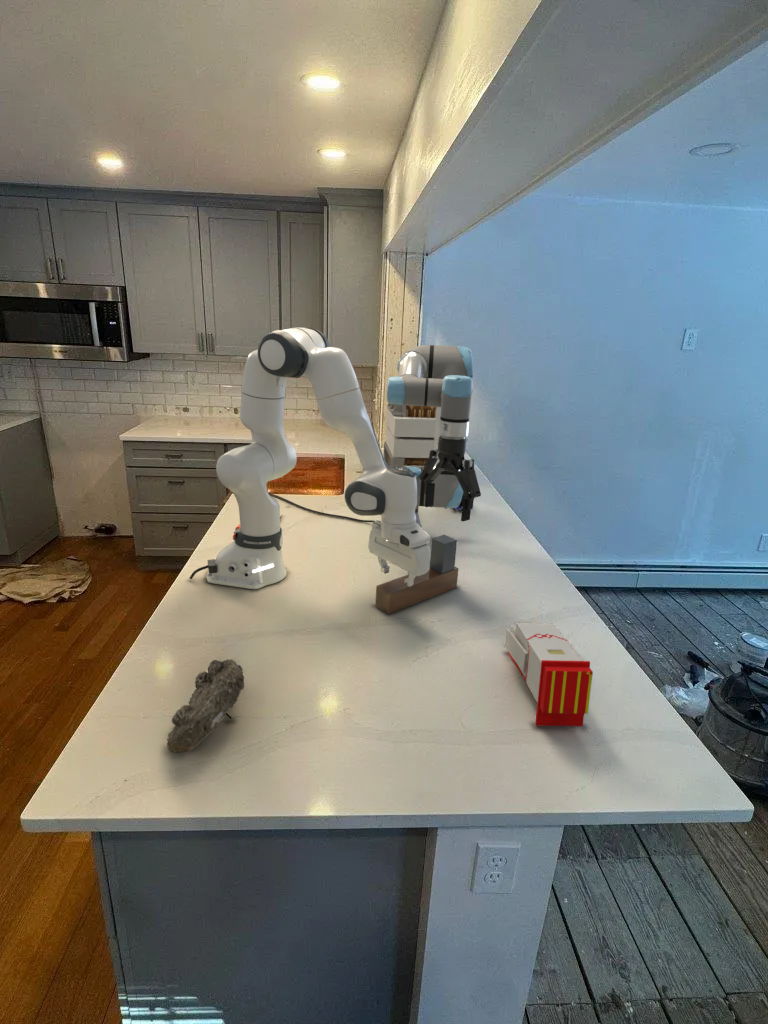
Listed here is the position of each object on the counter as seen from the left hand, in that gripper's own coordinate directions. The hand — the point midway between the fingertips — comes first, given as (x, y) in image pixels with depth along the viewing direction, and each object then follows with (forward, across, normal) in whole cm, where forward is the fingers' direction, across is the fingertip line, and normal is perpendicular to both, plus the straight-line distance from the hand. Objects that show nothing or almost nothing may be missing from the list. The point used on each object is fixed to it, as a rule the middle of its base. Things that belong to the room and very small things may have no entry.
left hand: (396, 578), depth 148 cm
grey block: (+2, -1, +18) cm, 18 cm away
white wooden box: (+7, -91, +96) cm, 132 cm away
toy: (+9, +43, +3) cm, 44 cm away
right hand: (-14, 0, +18) cm, 23 cm away
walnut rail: (+8, -1, +9) cm, 12 cm away
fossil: (+8, +11, -57) cm, 58 cm away
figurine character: (+8, -46, +74) cm, 87 cm away
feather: (+7, -74, +9) cm, 75 cm away
